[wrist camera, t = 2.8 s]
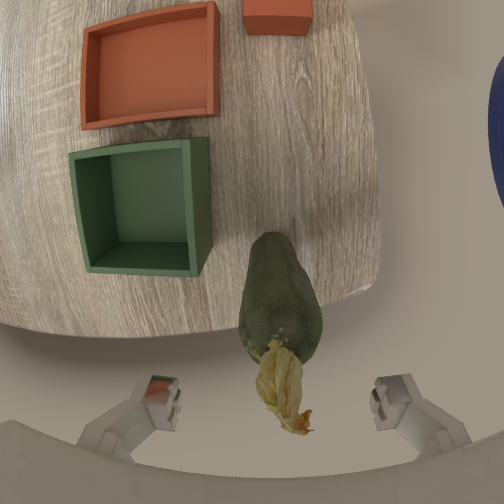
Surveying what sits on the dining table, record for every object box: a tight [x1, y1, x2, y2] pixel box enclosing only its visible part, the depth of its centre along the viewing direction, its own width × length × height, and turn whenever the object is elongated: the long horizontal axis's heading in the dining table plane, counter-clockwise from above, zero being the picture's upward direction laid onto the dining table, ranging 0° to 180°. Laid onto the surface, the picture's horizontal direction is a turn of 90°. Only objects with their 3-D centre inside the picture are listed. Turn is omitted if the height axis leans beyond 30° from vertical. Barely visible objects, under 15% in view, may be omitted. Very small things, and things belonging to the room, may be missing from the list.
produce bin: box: [69, 137, 213, 277], centre depth 24 cm, size 10×10×6 cm
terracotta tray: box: [80, 1, 220, 131], centre depth 21 cm, size 12×10×3 cm
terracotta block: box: [243, 0, 313, 36], centre depth 18 cm, size 5×5×5 cm
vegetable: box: [238, 232, 323, 435], centre depth 19 cm, size 4×4×20 cm
